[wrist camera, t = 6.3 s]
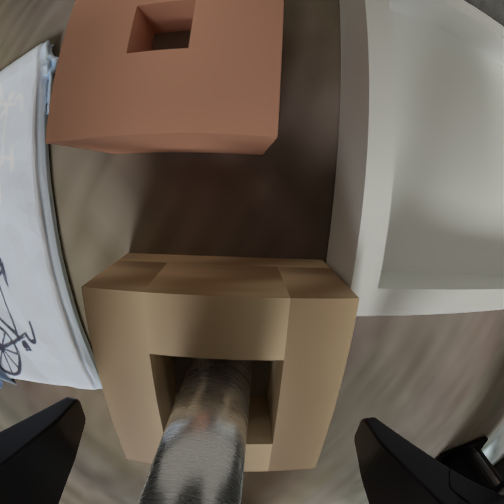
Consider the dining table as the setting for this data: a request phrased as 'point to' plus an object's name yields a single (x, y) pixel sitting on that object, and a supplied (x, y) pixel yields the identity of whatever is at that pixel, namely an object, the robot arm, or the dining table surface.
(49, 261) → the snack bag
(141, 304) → the oak block
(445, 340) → the dining table surface
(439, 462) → the robot arm
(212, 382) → the cylinder
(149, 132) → the rust block
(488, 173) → the tray
